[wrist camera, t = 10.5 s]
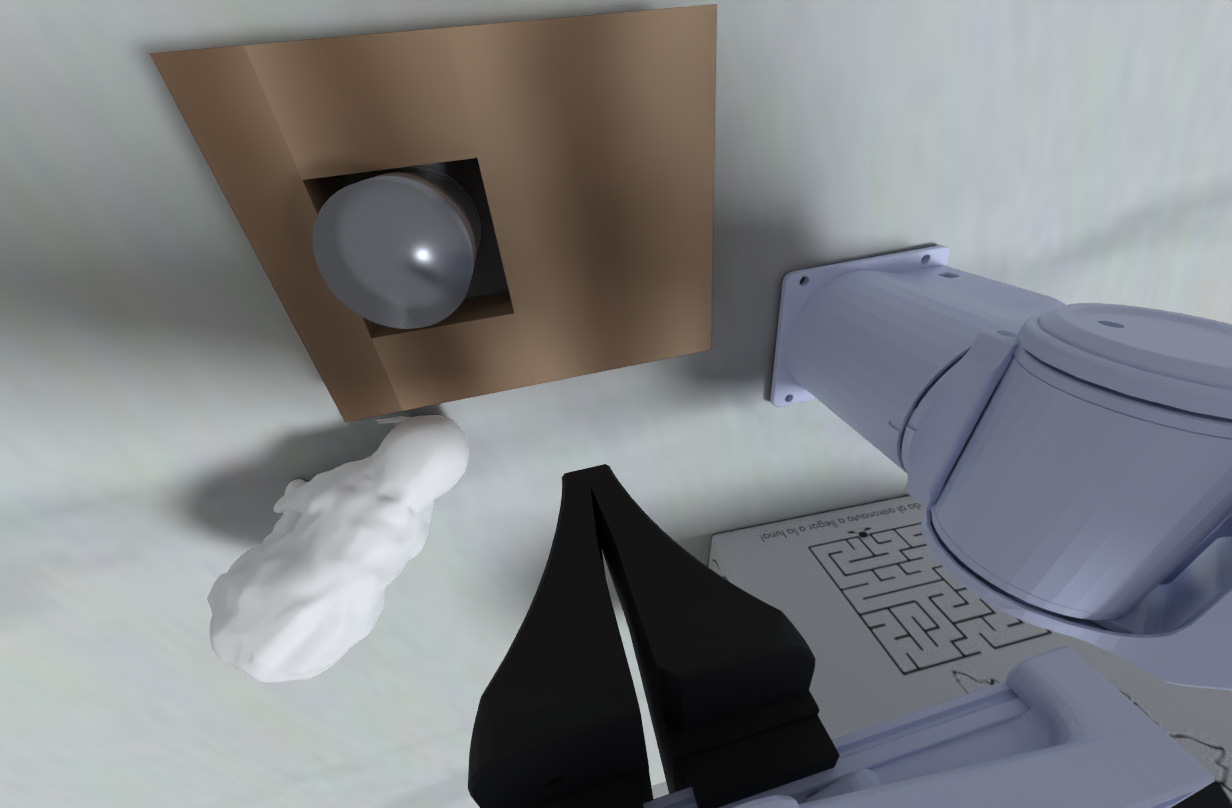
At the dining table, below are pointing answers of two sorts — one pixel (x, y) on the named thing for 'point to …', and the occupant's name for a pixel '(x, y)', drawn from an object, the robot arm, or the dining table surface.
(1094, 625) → the robot arm
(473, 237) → the grey dome knob
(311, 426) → the dining table surface
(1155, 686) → the cereal box
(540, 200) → the jig
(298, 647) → the white lumpy piece
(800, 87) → the dining table surface
